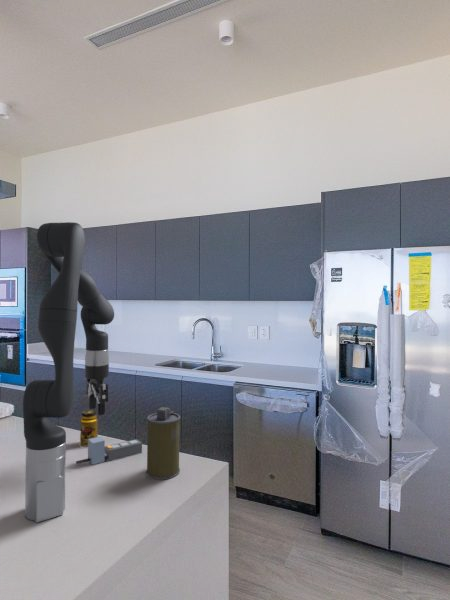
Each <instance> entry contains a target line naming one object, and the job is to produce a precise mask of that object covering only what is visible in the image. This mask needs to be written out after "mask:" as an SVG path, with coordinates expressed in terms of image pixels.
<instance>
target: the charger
mask: <svg viewBox="0 0 450 600" xmlns="http://www.w3.org/2000/svg"><path fill="white" fill-rule="evenodd" d="M105 443H106V441H105V439H103V437H101V436H98V437H96V438H91V439H88V447H87V458H84V459H80V460H77V461H75V464H76V465H78V464H83V463H88V462H89V463H90V464H91V465H97V464H100V463H101V464H102V463H104V462H105V457H104V456H107V454H106V453H105V446H106V444H105Z"/></svg>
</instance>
